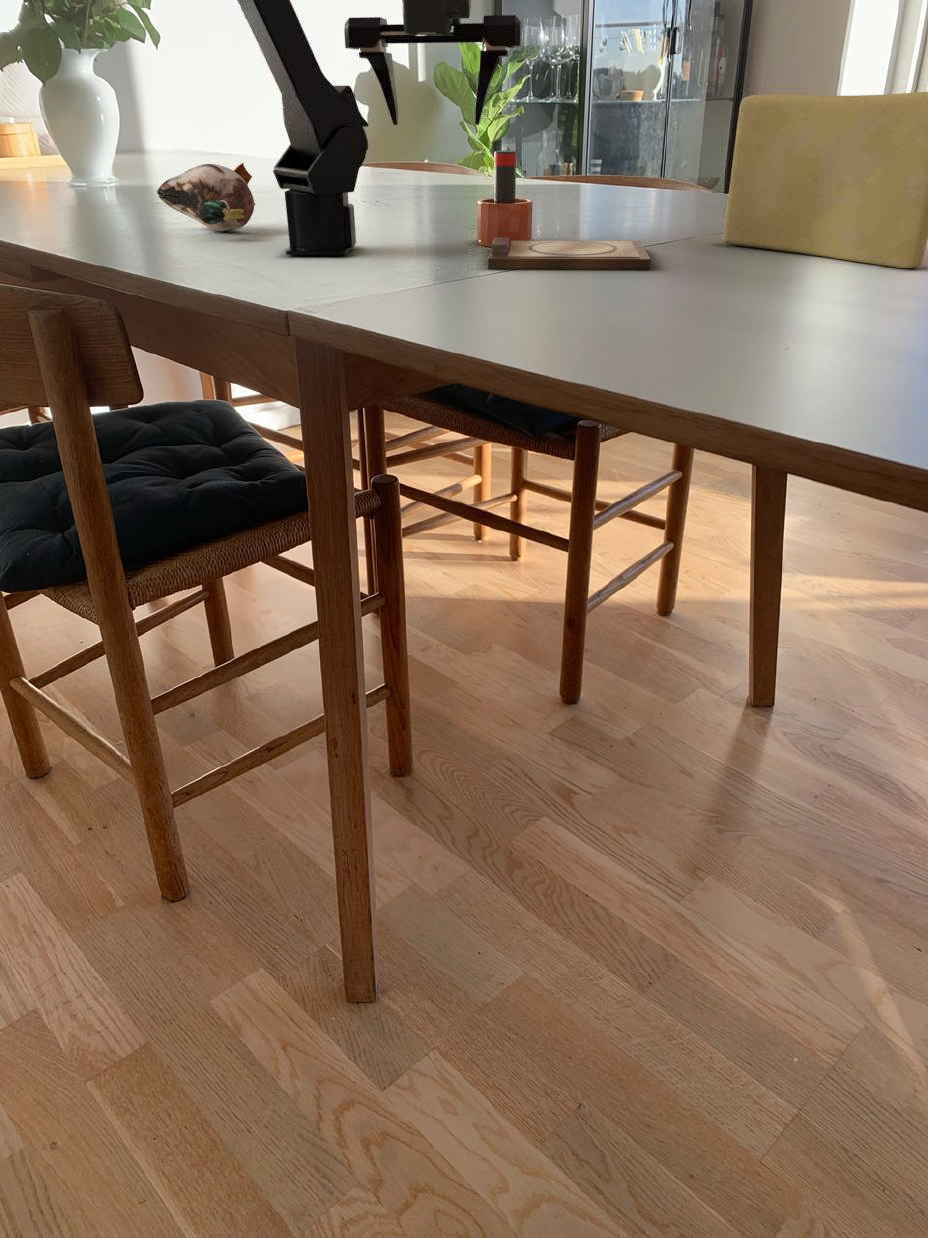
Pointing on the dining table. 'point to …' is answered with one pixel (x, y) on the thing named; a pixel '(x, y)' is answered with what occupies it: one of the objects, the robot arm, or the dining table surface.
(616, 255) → the wooden board with ring
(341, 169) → the robot arm
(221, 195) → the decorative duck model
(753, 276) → the dining table surface
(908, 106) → the cheese
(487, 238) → the pen pot
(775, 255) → the dining table surface
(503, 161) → the marker
